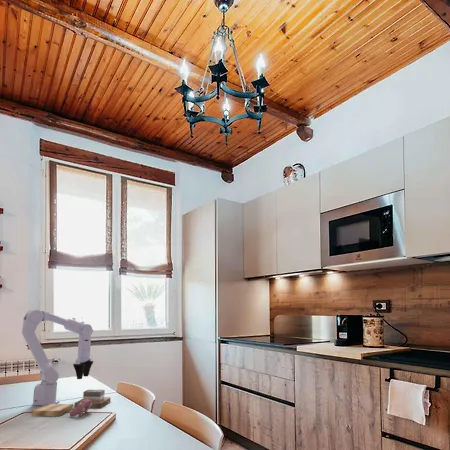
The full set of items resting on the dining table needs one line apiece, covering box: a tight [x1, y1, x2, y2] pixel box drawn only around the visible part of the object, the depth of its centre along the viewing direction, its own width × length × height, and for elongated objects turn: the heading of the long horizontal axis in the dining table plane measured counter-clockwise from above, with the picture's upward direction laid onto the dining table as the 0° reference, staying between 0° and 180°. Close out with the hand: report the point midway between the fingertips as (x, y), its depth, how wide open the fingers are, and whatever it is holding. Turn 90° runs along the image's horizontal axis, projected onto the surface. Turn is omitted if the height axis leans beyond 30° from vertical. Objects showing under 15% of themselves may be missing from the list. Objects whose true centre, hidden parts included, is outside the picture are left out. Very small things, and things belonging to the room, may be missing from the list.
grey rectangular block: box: [82, 389, 106, 401], centre depth 190 cm, size 5×8×4 cm, turn 85°
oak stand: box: [31, 403, 74, 417], centre depth 177 cm, size 12×12×2 cm
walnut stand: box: [74, 396, 111, 409], centre depth 190 cm, size 12×12×2 cm
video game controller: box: [69, 399, 93, 417], centre depth 173 cm, size 10×5×7 cm, turn 170°
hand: (82, 377), depth 203 cm, fingers open, 7 cm apart
